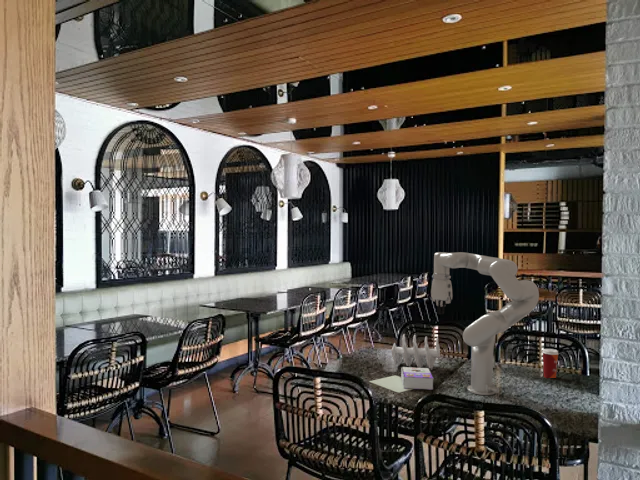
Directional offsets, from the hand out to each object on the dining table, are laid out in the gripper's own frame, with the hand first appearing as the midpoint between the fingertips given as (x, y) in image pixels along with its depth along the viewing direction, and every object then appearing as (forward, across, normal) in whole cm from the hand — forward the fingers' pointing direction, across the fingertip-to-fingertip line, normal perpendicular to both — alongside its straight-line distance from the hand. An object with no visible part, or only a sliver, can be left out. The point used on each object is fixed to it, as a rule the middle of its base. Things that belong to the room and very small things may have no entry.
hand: (440, 314), depth 243 cm
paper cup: (+33, -29, -51) cm, 67 cm away
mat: (+33, +8, +22) cm, 41 cm away
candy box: (+30, -4, +20) cm, 36 cm away
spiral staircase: (+33, +23, -8) cm, 41 cm away
